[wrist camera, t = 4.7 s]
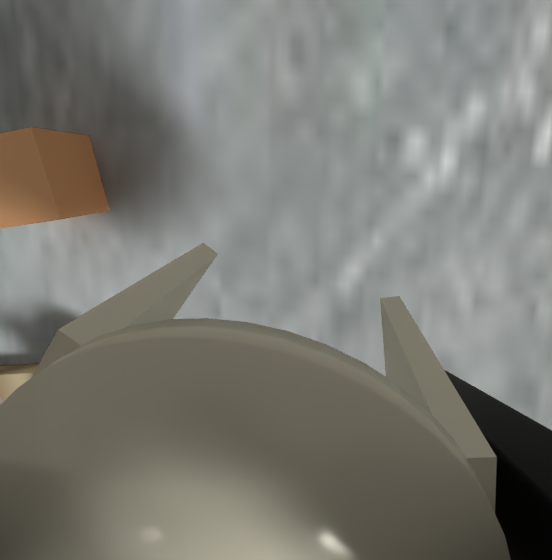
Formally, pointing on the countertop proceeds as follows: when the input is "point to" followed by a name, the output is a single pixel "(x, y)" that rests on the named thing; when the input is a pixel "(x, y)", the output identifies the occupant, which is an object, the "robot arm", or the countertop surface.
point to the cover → (238, 442)
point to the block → (47, 177)
